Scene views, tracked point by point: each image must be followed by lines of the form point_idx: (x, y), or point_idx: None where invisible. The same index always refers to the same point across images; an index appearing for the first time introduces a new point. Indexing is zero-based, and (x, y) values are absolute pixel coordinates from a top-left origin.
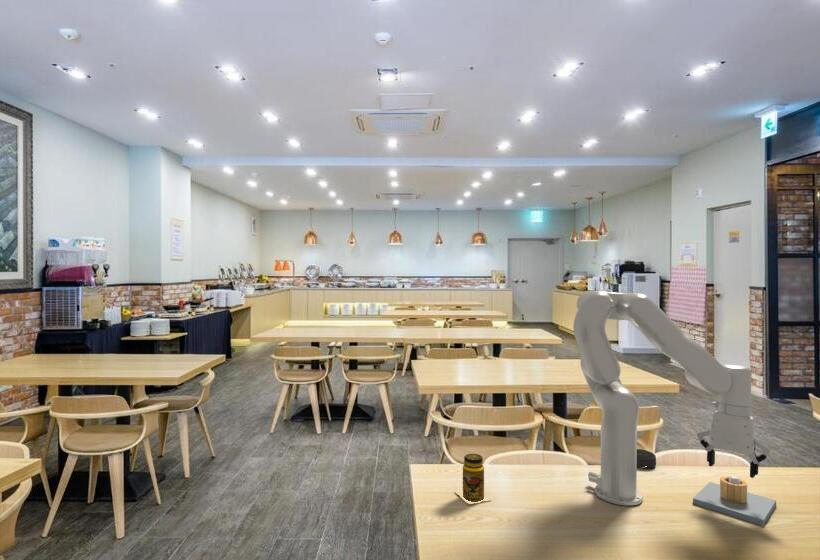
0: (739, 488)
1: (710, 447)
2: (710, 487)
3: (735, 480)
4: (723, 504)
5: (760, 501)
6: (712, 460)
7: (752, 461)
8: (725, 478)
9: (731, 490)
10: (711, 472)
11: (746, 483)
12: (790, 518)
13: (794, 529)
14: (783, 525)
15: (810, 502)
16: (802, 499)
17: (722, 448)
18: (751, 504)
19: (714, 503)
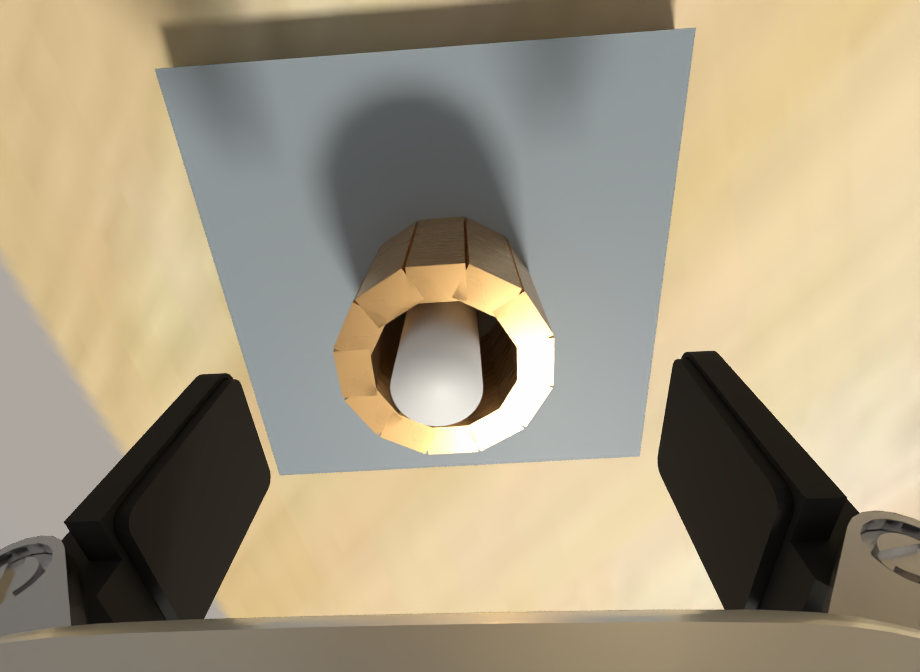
0: (369, 284)
1: (906, 617)
2: (617, 374)
3: (413, 347)
4: (466, 124)
5: (323, 393)
6: (702, 430)
7: (62, 561)
8: (517, 376)
9: (431, 247)
10: (656, 607)
11: (348, 398)
12: (168, 348)
13: (66, 200)
14: (129, 207)
15: (223, 592)
16: (257, 598)
17: (633, 635)
18: (337, 303)
19: (523, 76)
